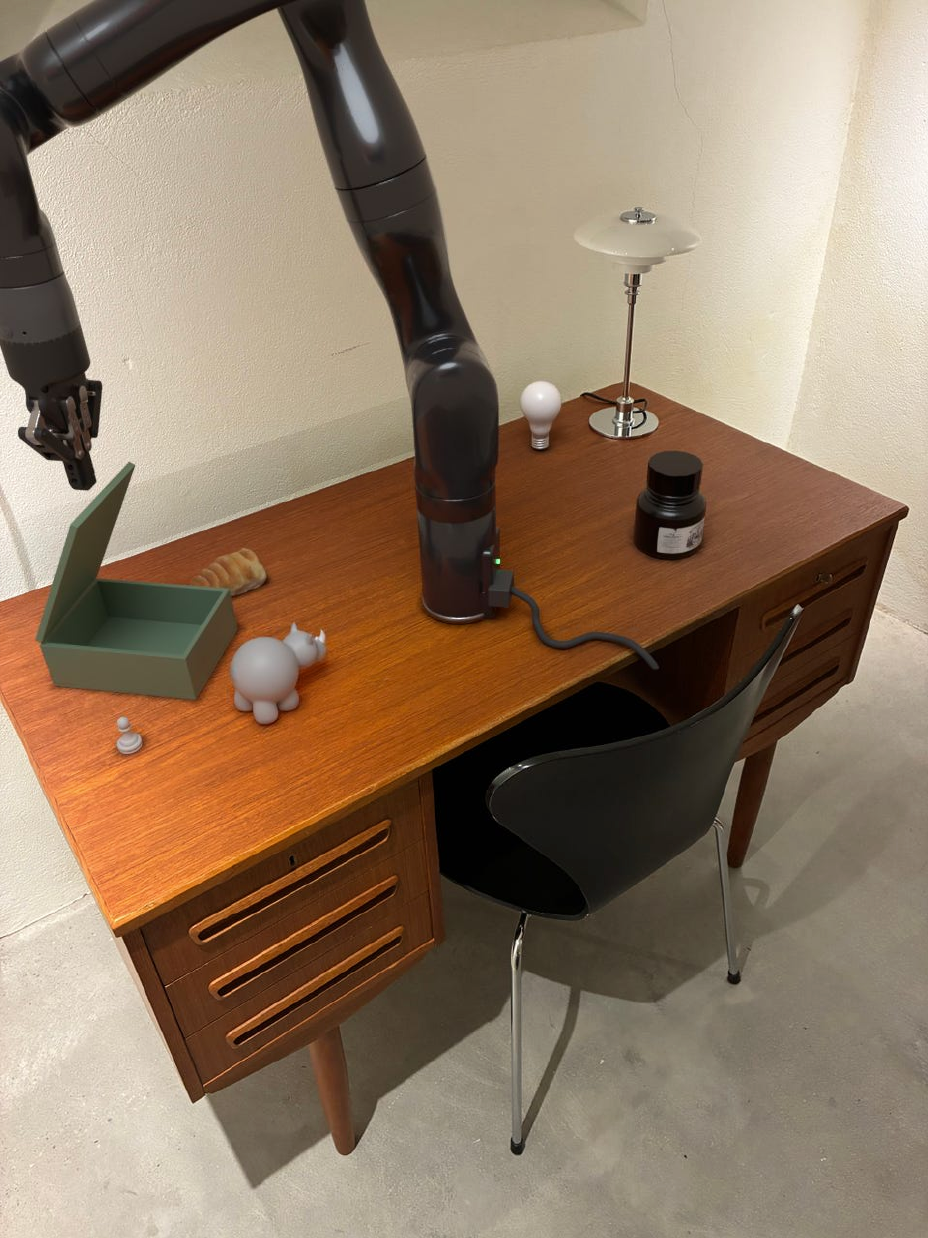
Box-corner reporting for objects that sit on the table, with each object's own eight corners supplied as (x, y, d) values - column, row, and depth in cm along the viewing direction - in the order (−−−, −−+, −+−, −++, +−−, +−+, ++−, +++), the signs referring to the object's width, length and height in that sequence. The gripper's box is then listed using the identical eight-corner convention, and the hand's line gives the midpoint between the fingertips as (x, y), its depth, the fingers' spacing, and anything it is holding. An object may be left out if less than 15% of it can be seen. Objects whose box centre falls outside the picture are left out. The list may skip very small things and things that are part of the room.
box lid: (135, 464, 109) (129, 461, 109) (77, 527, 99) (70, 524, 98) (97, 576, 120) (91, 573, 120) (41, 643, 109) (34, 640, 109)
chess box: (238, 628, 121) (229, 588, 117) (196, 700, 110) (185, 658, 107) (107, 617, 124) (95, 577, 120) (54, 686, 113) (39, 645, 110)
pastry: (206, 611, 124) (200, 586, 121) (182, 588, 128) (176, 564, 126) (271, 583, 128) (267, 558, 126) (246, 561, 133) (241, 537, 130)
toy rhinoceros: (350, 683, 112) (342, 623, 107) (263, 737, 105) (250, 675, 100) (311, 655, 116) (302, 596, 111) (225, 705, 110) (210, 645, 104)
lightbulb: (517, 457, 154) (517, 390, 147) (522, 438, 159) (522, 373, 152) (558, 459, 153) (560, 392, 146) (562, 440, 158) (564, 374, 151)
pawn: (116, 742, 105) (106, 714, 103) (140, 734, 106) (132, 706, 104) (120, 757, 104) (110, 729, 101) (145, 750, 104) (136, 722, 102)
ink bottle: (669, 570, 128) (678, 488, 120) (617, 543, 133) (623, 463, 126) (716, 541, 133) (727, 461, 125) (664, 517, 138) (672, 439, 131)
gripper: (38, 353, 87) (88, 522, 98) (106, 301, 98) (145, 459, 108) (-39, 349, 89) (18, 516, 99) (37, 298, 99) (81, 455, 109)
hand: (84, 486), depth 104 cm, fingers closed
